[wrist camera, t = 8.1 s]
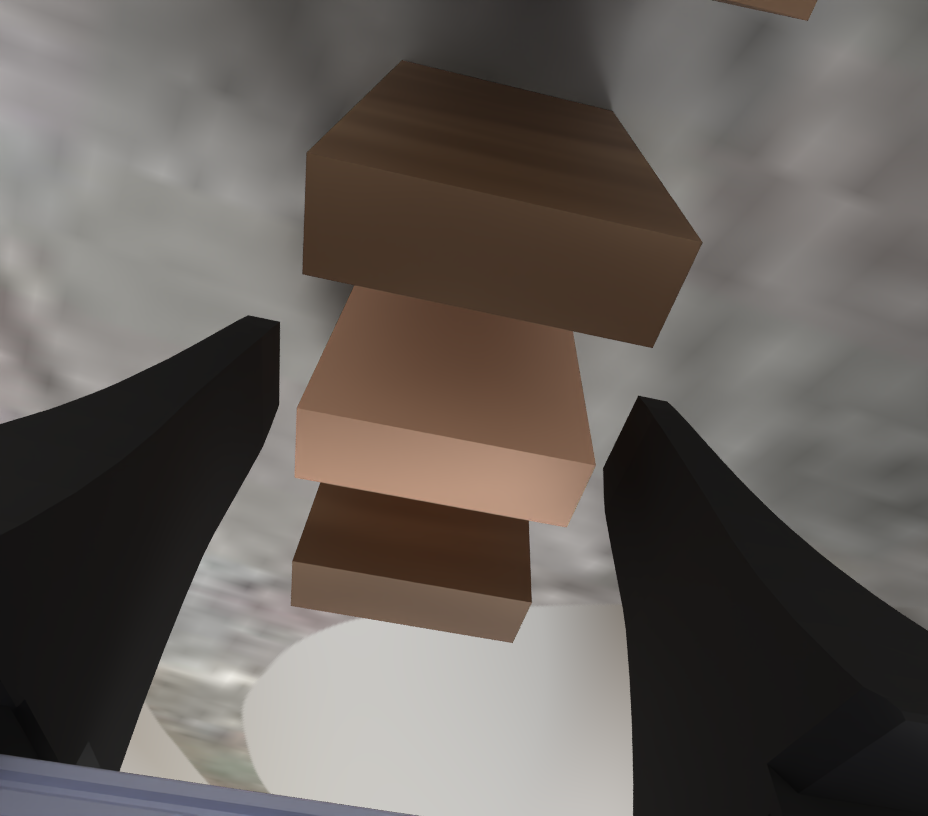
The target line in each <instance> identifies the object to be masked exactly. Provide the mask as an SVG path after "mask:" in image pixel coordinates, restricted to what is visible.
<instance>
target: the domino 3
mask: <svg viewBox="0 0 928 816" xmlns="http://www.w3.org/2000/svg"><path fill="white" fill-rule="evenodd" d="M531 603H532V597H531V570H530V543H529V520H524V519H518V518H513V517H507V516H502V515H496V514H491V513H486V512H480V511H475V510H469V509H464V508H458V507H453V506H447V505H442V504H436V503H431V502H426V501H420V500H415V499H409V498H404V497H398V496H393V495H387V494H382V493H377V492H371V491H366V490H360V489H355V488H349V487H344V486H338V485H333V484H327V483H322V482H321V483H320V485H319V488H318V491H317V494H316V497H315V499H314V502H313V505H312V508H311V511H310V513H309V516H308V519H307V522H306V525H305V527H304V530H303V533H302V536H301V539H300V541H299V544H298V547H297V550H296V553H295V555H294V558H293V561H292V589H291V606H295V607H301V608H307V609H313V610H319V611H325V612H331V613H337V614H343V615H349V616H355V617H361V618H367V619H373V620H379V621H385V622H391V623H397V624H403V625H409V626H415V627H421V628H426V629H432V630H438V631H445V632H450V633H456V634H462V635H468V636H475V637H480V638H486V639H492V640H499V641H505V642H510V643H513V641H514V639H515V637H516V635H517V633H518V631H519V628H520V626H521V624H522V622H523V620H524V618H525V615H526V614H527V612H528V609H529V607H530V605H531Z"/></svg>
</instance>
